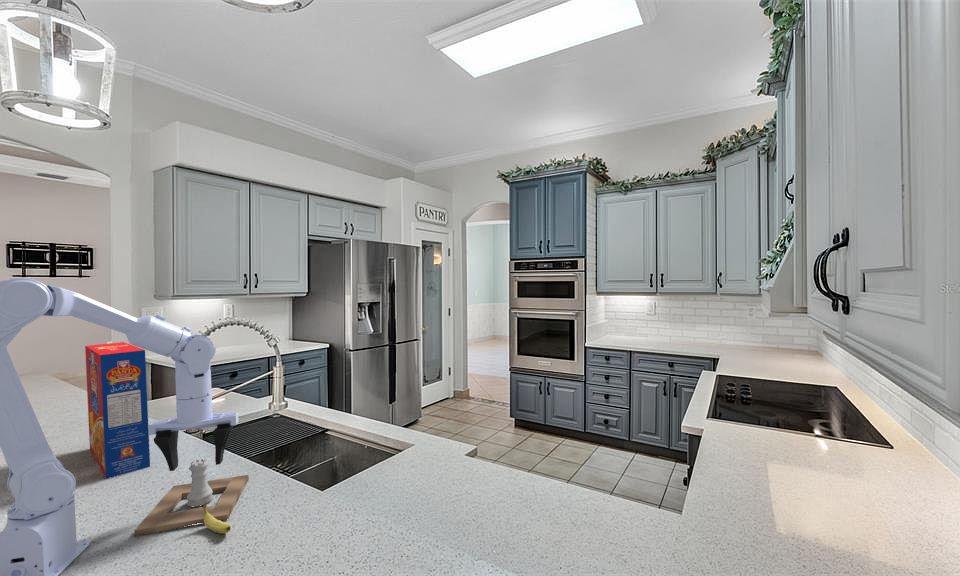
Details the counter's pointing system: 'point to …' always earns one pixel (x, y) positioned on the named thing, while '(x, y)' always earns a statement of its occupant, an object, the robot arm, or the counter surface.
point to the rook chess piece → (199, 484)
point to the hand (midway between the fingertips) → (196, 465)
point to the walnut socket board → (166, 520)
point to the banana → (214, 522)
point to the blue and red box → (117, 407)
